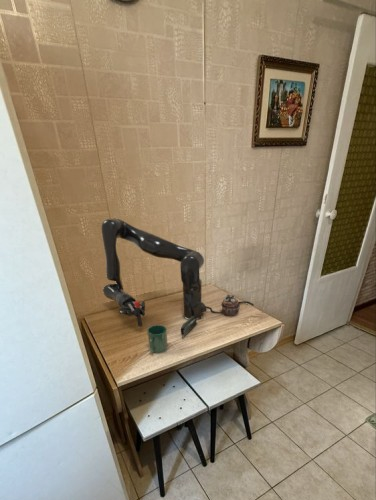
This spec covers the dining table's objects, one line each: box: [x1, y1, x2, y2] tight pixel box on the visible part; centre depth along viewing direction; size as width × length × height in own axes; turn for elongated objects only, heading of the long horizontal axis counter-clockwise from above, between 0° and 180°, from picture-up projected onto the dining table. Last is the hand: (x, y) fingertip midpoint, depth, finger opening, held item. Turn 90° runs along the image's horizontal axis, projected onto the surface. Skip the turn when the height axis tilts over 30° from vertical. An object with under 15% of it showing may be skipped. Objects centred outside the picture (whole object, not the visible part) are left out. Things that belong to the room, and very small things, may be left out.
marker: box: [134, 300, 143, 327], centre depth 129 cm, size 2×2×12 cm
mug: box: [147, 324, 169, 354], centre depth 120 cm, size 11×8×10 cm
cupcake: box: [220, 294, 241, 318], centre depth 146 cm, size 10×10×10 cm
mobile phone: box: [180, 316, 198, 339], centre depth 134 cm, size 5×3×15 cm
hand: (141, 314), depth 127 cm, fingers closed on marker, 2 cm apart
